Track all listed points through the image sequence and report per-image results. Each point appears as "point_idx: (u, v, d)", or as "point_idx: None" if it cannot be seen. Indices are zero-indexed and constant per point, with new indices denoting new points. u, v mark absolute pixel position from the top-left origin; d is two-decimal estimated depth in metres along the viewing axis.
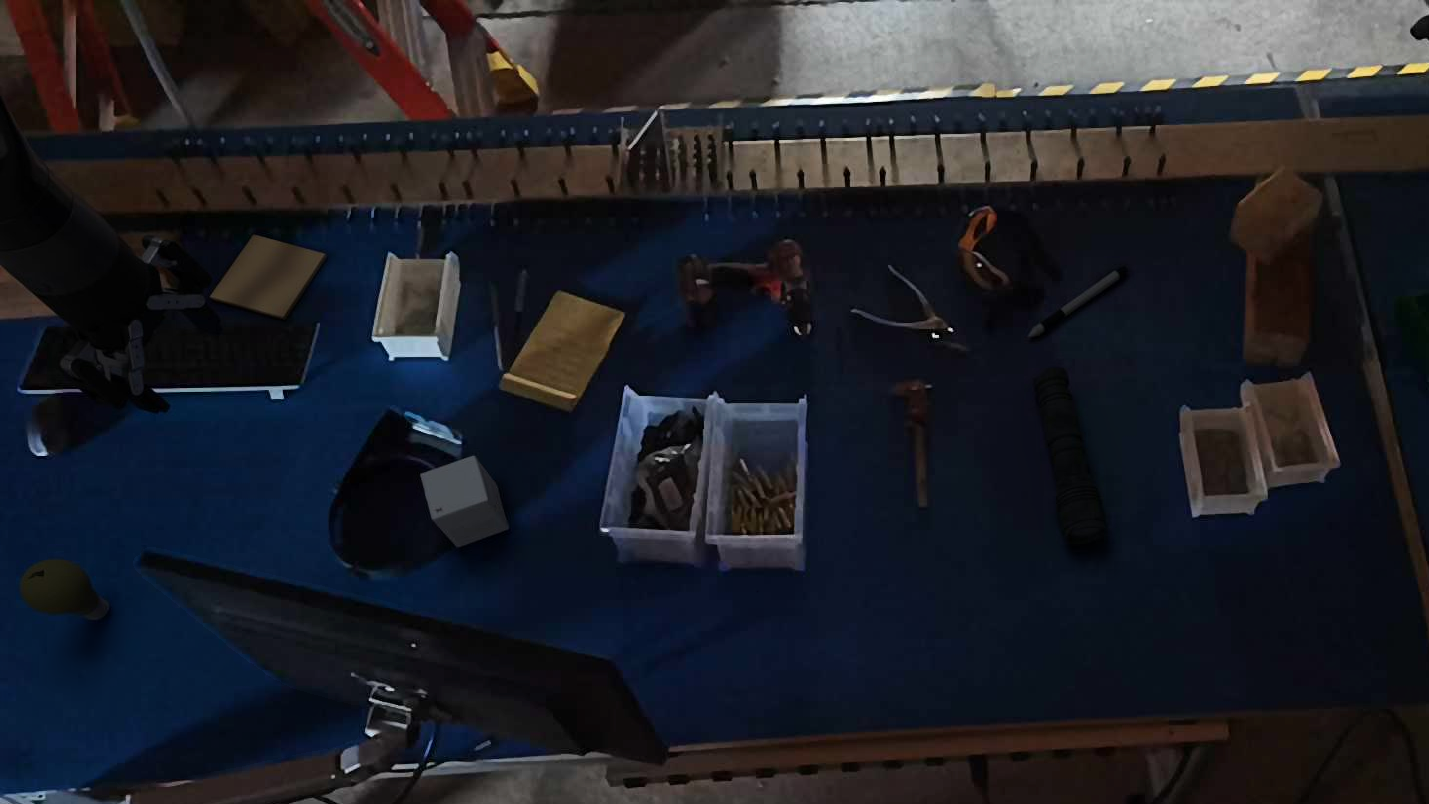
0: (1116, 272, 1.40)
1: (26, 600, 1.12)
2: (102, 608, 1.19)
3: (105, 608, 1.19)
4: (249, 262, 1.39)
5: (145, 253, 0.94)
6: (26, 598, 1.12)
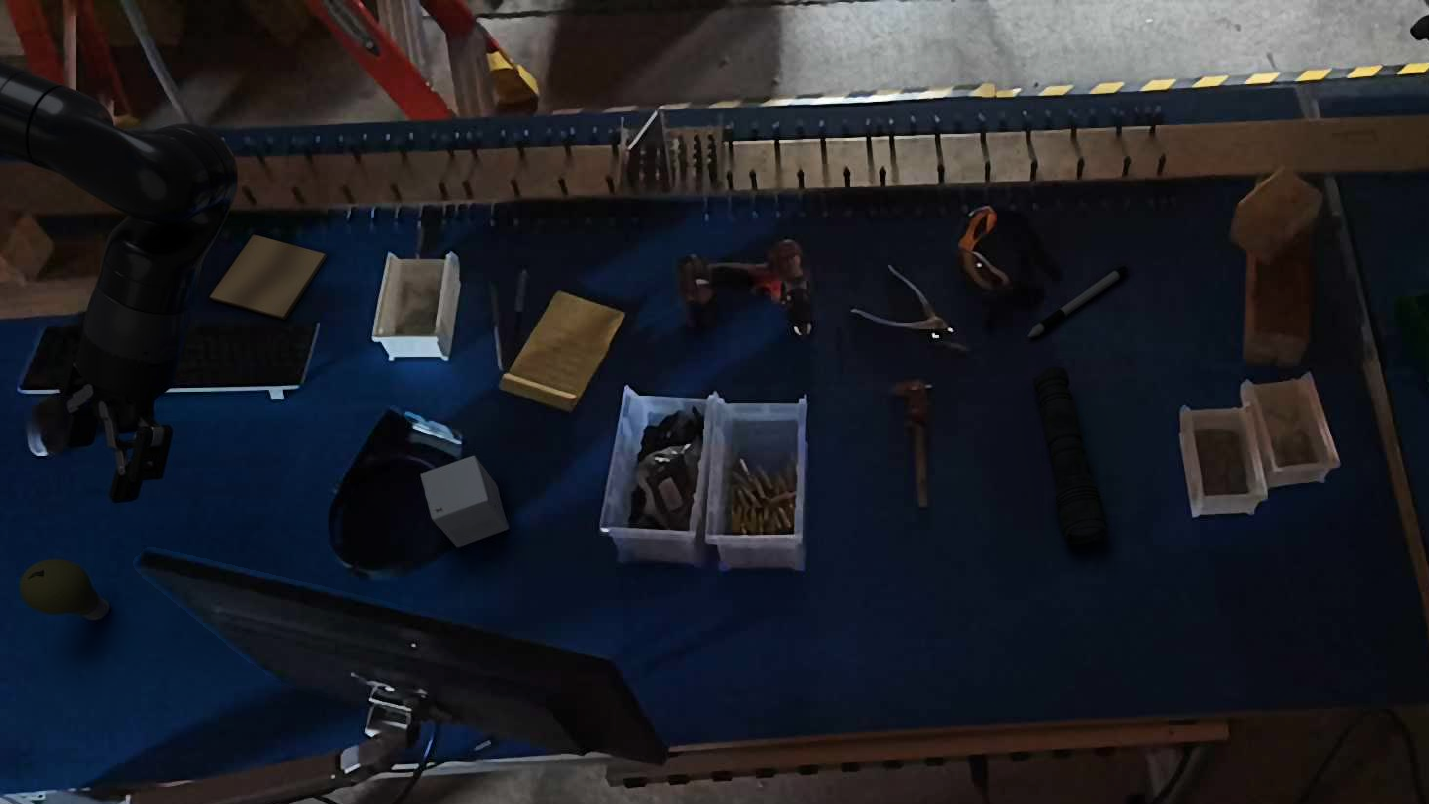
0: (1116, 272, 1.40)
1: (26, 600, 1.12)
2: (102, 608, 1.19)
3: (105, 608, 1.19)
4: (249, 262, 1.39)
5: None
6: (26, 598, 1.12)
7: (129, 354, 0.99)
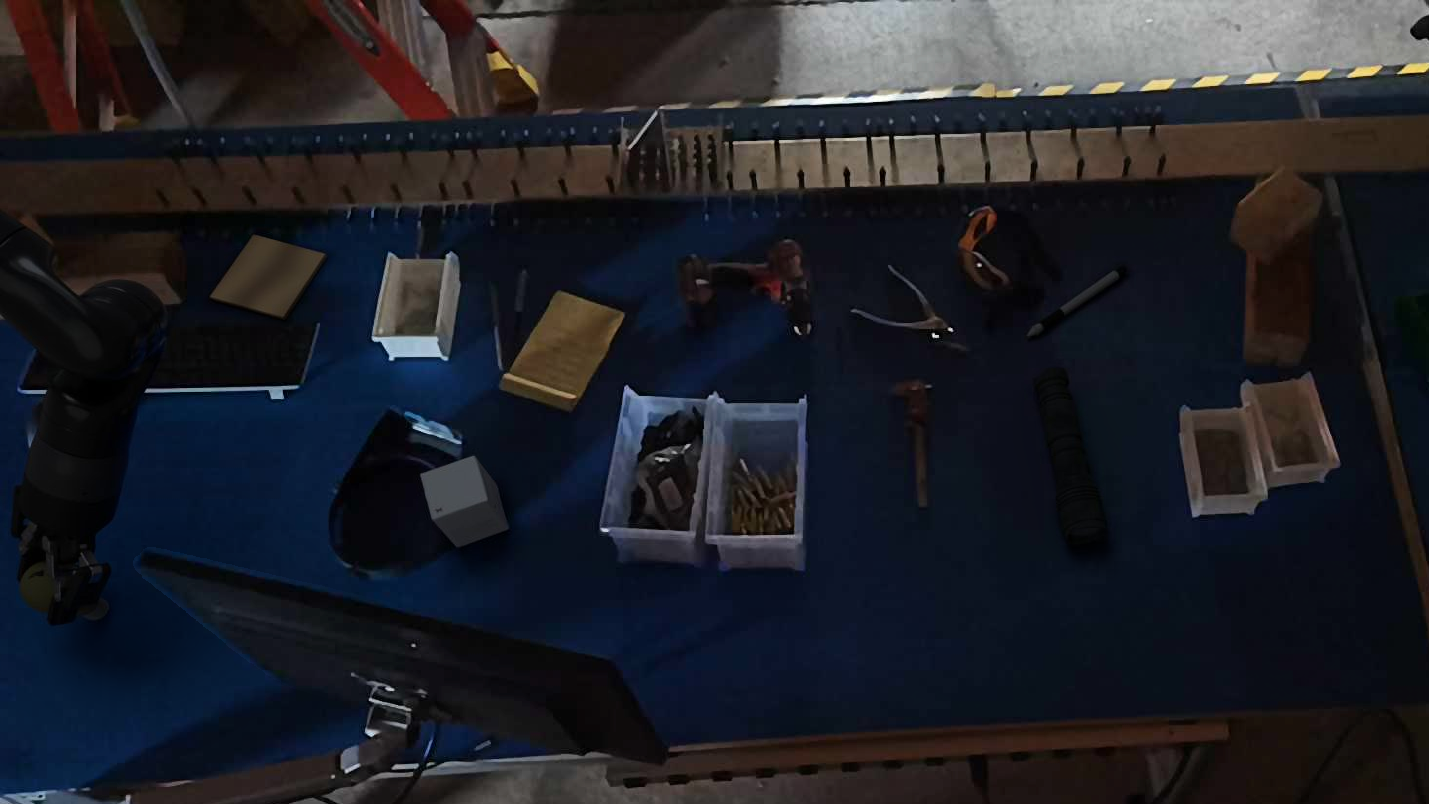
0: (1116, 272, 1.40)
1: (26, 600, 1.12)
2: (102, 608, 1.19)
3: (105, 608, 1.19)
4: (249, 262, 1.39)
5: None
6: (26, 598, 1.12)
7: (69, 496, 1.04)
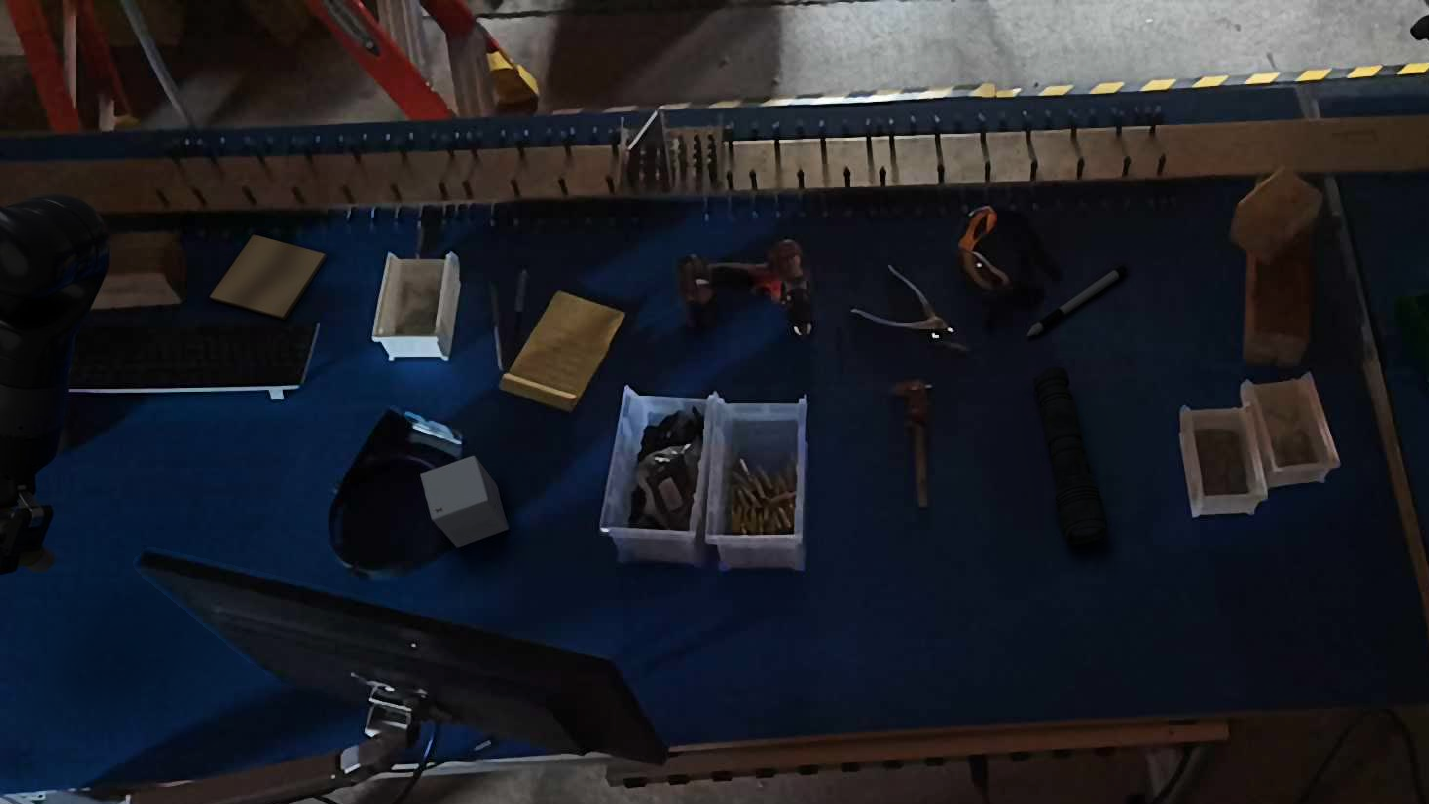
0: (1115, 271, 1.40)
1: None
2: (48, 559, 1.11)
3: (51, 559, 1.11)
4: (249, 262, 1.39)
5: None
6: None
7: (3, 430, 0.96)
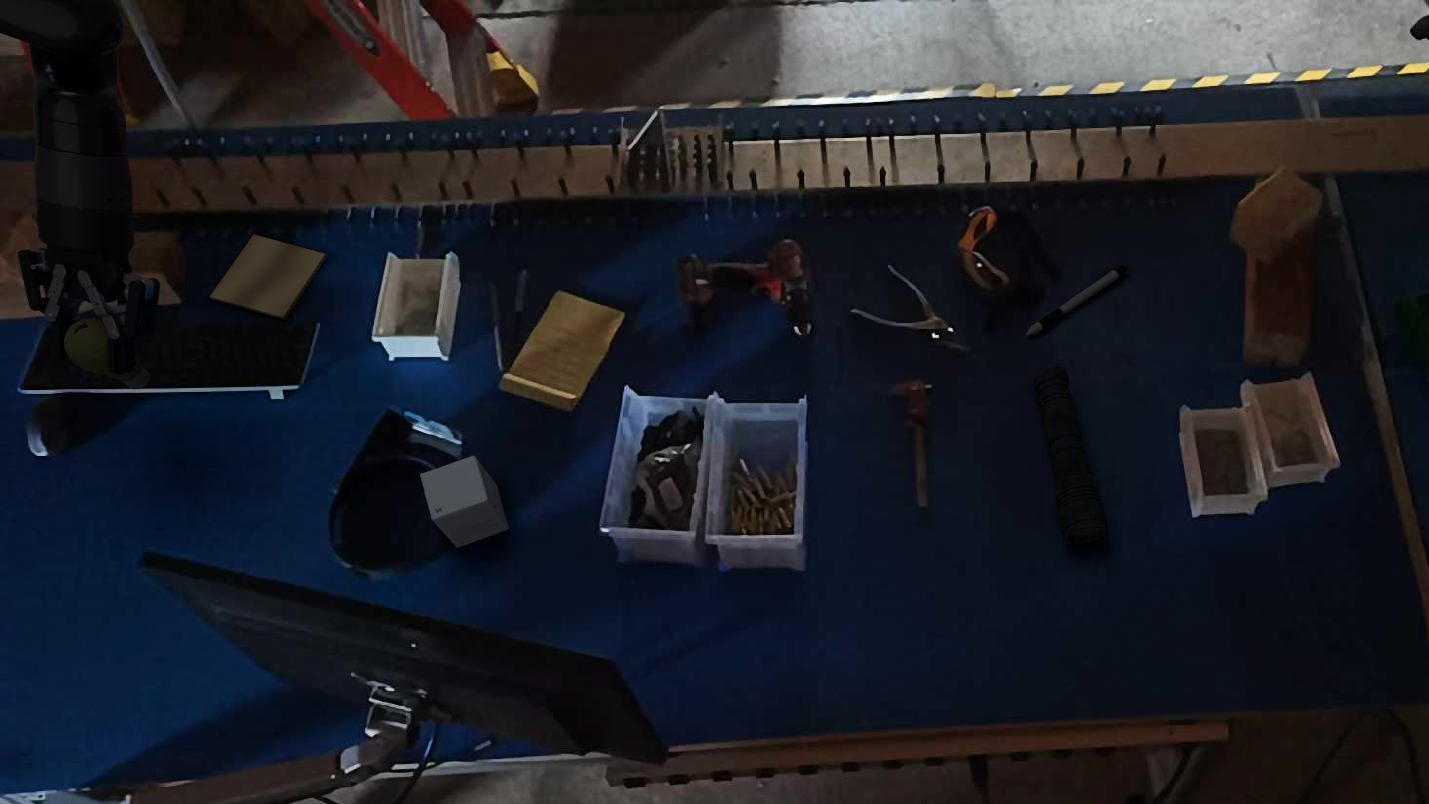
0: (1115, 271, 1.40)
1: (80, 357, 1.12)
2: (145, 372, 1.20)
3: (147, 373, 1.20)
4: (249, 262, 1.39)
5: (41, 251, 1.11)
6: (80, 354, 1.12)
7: (96, 204, 1.07)
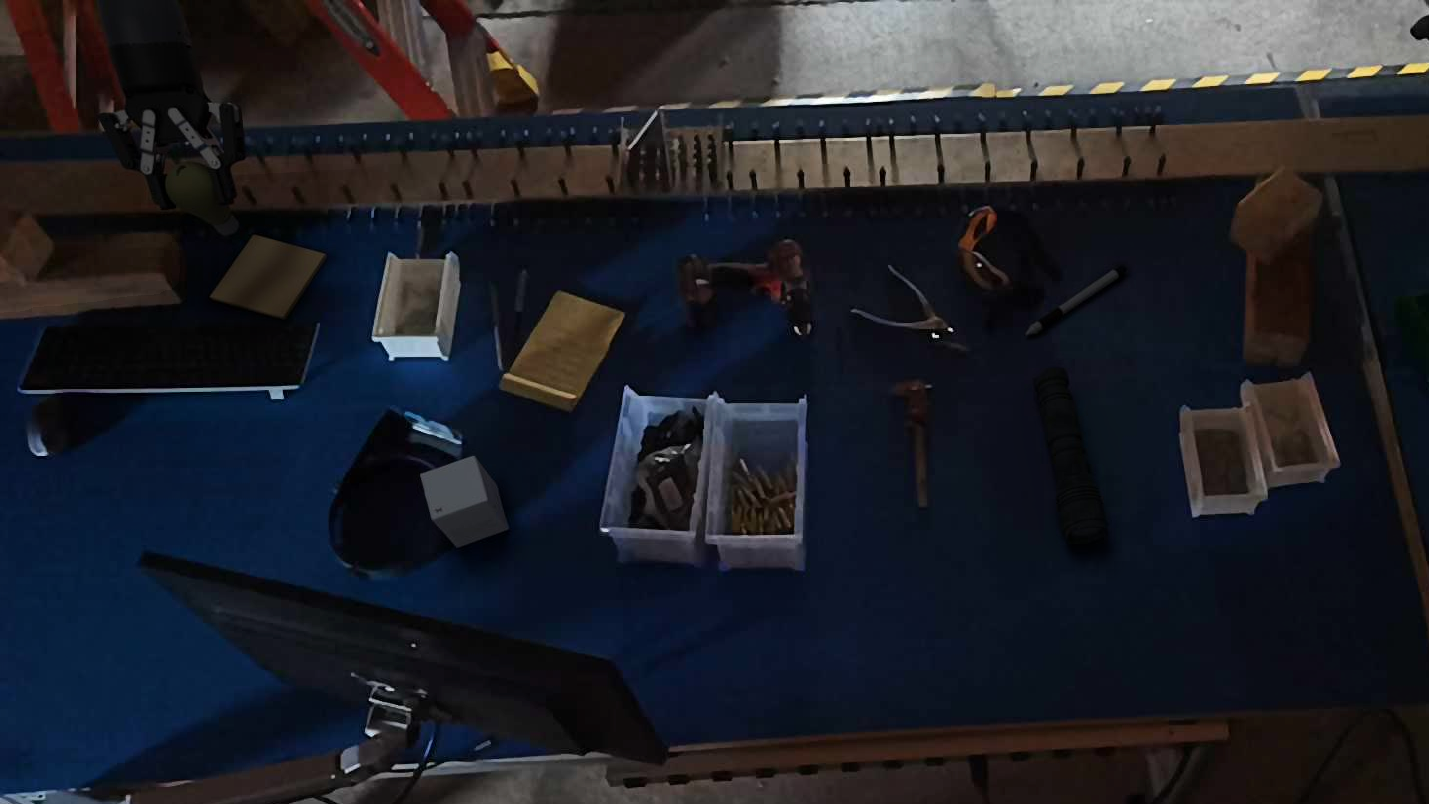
0: (1115, 271, 1.40)
1: (190, 195, 1.22)
2: (233, 216, 1.30)
3: (234, 218, 1.30)
4: (249, 262, 1.39)
5: None
6: (189, 193, 1.22)
7: (170, 37, 1.17)
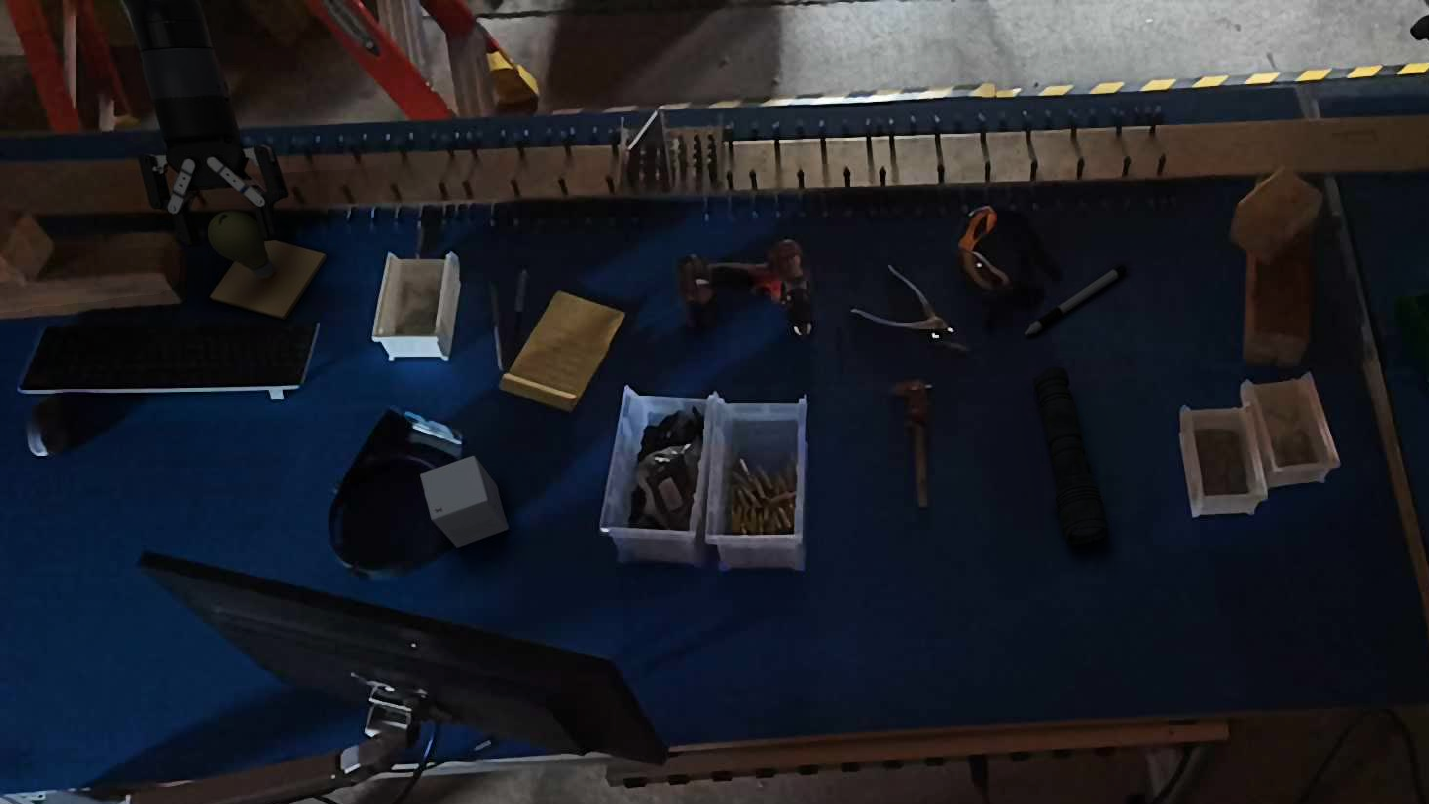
0: (1115, 271, 1.40)
1: (231, 243, 1.30)
2: (270, 261, 1.37)
3: (271, 262, 1.38)
4: None
5: (160, 155, 1.27)
6: (230, 240, 1.30)
7: (210, 91, 1.24)
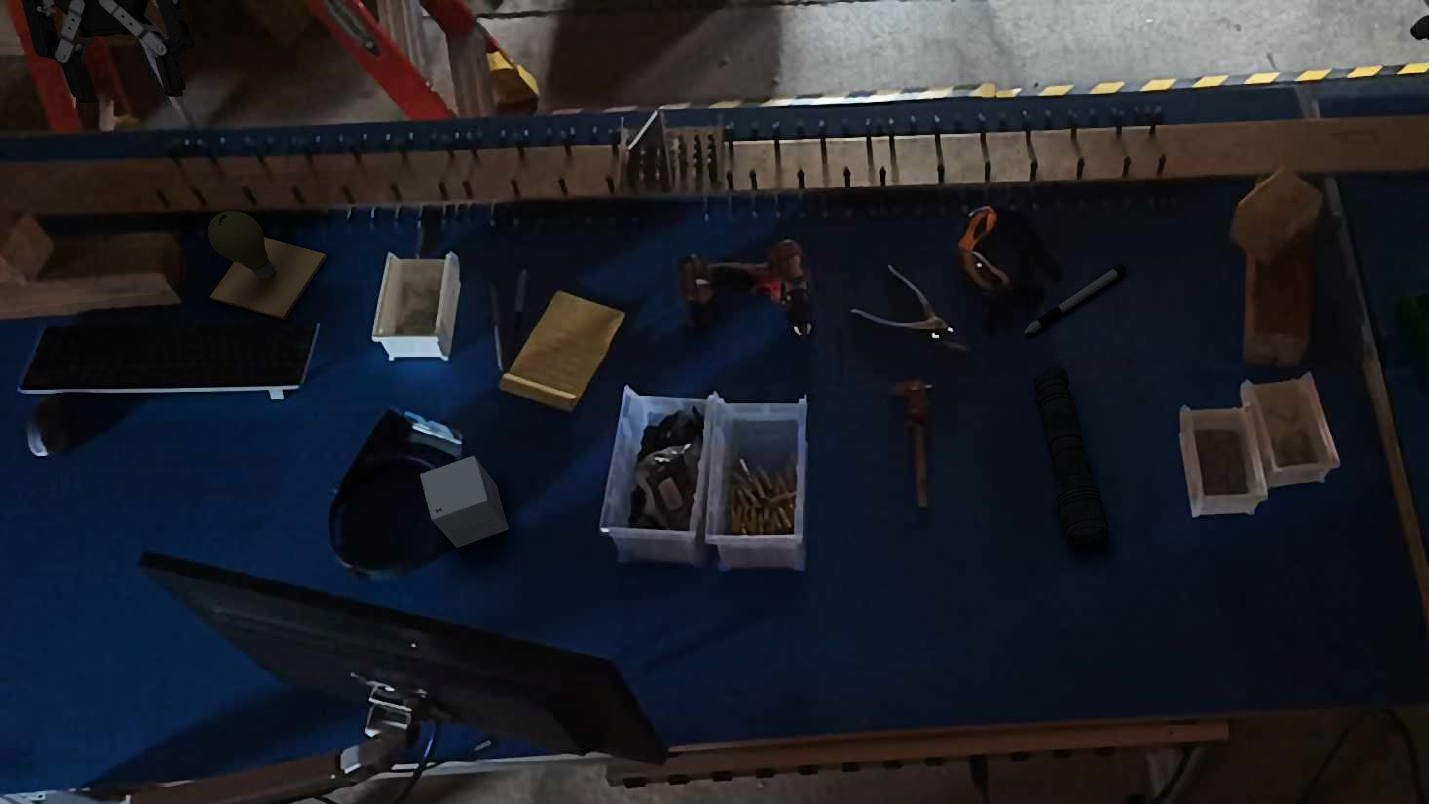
0: (1114, 270, 1.40)
1: (231, 243, 1.30)
2: (270, 261, 1.37)
3: (271, 262, 1.38)
4: None
5: None
6: (230, 240, 1.30)
7: None
